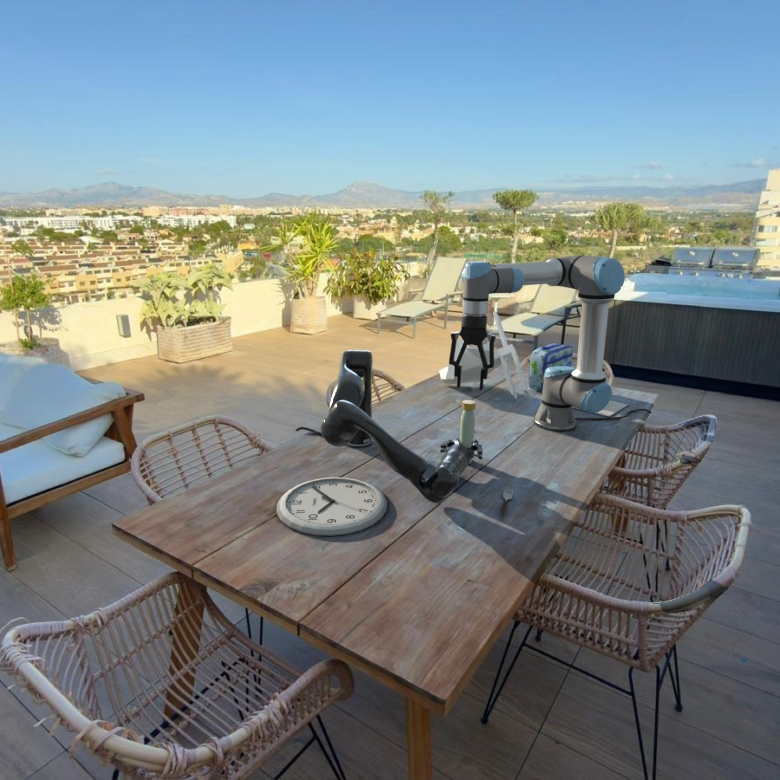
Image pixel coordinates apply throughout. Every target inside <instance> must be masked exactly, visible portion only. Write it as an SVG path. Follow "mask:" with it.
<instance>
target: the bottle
mask: <svg viewBox="0 0 780 780" xmlns="http://www.w3.org/2000/svg"><path fill="white" fill-rule="evenodd" d="M475 422H476V417H475V413H474V410H464V409H463V410H462V413H461V416H460V427H459V437H460V441H459V444H460V445H463V446H466V445H468V444H472V443H473V441H474V439H475V437H474V436H475V424H476V423H475ZM472 463H473V458H471V459H470V462H469V463H468V465H469V464H472Z"/></svg>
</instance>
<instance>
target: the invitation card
mask: <svg viewBox="0 0 780 780" xmlns="http://www.w3.org/2000/svg"><path fill="white" fill-rule="evenodd" d="M628 406H629V404H627V403H623V402H618V401H614V400H610V401H609V403H608V404H607V405H606V406H605V408H604V409H603V410H601V411H599V412H597V413H595V414H596V415H600V416H604V417H607V418H610V417H612V416H613V415H614V414H616V413H617V412H619V411H621V410H623V409H624V408H626V407H628ZM573 409H575V410H581V409H578V408H576V407H574V406H573ZM581 411H582V410H581Z"/></svg>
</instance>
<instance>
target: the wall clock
mask: <svg viewBox="0 0 780 780" xmlns="http://www.w3.org/2000/svg"><path fill="white" fill-rule="evenodd" d="M387 509H388V500H387V498H386V496H385V494H384V493H383V492H382V491H381V490H380V489H379V488H377V487H376V486H374V485H372V484H371V483H369V482H365V481H362V480H359V479H355V478H349V477H338V476H337V477H335V476H333V477H332V476H331V477H322V478H317V479H312V480H307V481H305V482H302V483H299V484H297V485H295V486H293V487H292V488H290V489H288V490H287V491H286V492H285V493H284V494H283V495H281V496H280V498H279V499H278V502H277V503H276V515H277V517H278V518H279V520H280V521H281V522H282V523H283V524H285V525H286V526H287V527H288V528H290V529H293V530H295V531H297V532H299V533H303V534H308V535H312V536H327V537H328V536H329V537H331V536H332V537H333V536H342V535H350V534H352V533H356V532H361V531H363V530H366V529H368V528H369V527H372V526H373V525H375V524H376V523H378V522H379V521H380V520H381V519H382V518H383V517H384V516H385V514H386V512H387Z"/></svg>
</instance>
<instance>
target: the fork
mask: <svg viewBox="0 0 780 780" xmlns="http://www.w3.org/2000/svg"><path fill="white" fill-rule="evenodd" d="M512 488H514V486H510V487H509V488H507V486H505V487H504V491H503V494H502V498H503V499H504V502H503V503H502V506H501V510H500V511H501V512H500V518H502V517H503V516H504V513H505V511H506V509H507V503H508V500H511V499H513V495H514V489H512Z"/></svg>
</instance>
